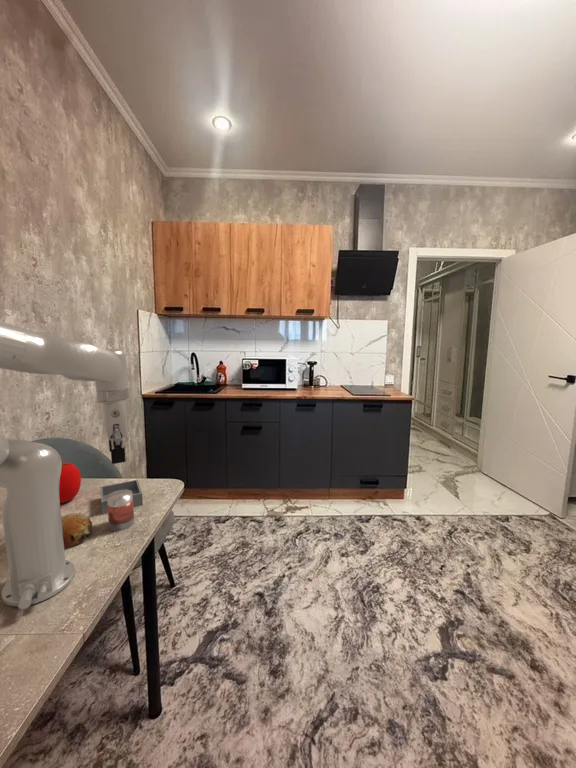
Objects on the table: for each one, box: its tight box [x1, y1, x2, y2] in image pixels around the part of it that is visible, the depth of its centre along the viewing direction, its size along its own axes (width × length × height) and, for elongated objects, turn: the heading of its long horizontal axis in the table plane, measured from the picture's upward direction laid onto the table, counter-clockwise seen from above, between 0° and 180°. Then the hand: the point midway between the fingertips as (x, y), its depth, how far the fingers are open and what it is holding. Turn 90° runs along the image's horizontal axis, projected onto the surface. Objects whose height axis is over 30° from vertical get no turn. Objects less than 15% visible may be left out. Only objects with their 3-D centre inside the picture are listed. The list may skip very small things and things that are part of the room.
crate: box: [99, 479, 144, 515], centre depth 105 cm, size 11×11×4 cm
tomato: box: [59, 462, 82, 504], centre depth 105 cm, size 12×12×13 cm
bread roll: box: [61, 512, 94, 549], centre depth 87 cm, size 10×10×8 cm
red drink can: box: [107, 490, 135, 532], centre depth 92 cm, size 6×6×9 cm
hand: (117, 456), depth 90 cm, fingers open, 9 cm apart
